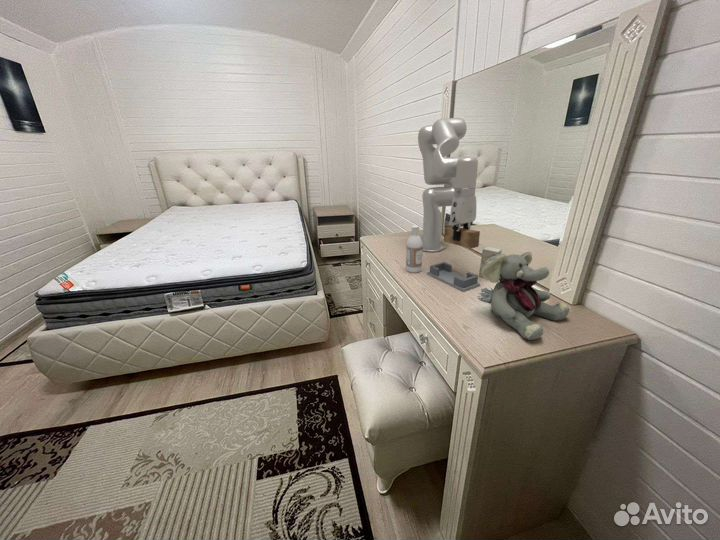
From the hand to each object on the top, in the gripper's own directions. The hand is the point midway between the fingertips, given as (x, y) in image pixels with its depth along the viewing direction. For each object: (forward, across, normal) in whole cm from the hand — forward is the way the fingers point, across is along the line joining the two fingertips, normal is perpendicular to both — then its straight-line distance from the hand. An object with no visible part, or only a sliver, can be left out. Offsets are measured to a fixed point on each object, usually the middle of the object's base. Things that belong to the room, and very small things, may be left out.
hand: (460, 238), depth 117 cm
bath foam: (+16, -10, +16) cm, 25 cm away
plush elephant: (+17, -8, -30) cm, 36 cm away
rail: (+16, -5, -2) cm, 17 cm away
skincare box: (+16, +9, -8) cm, 20 cm away
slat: (+2, 0, 0) cm, 2 cm away
